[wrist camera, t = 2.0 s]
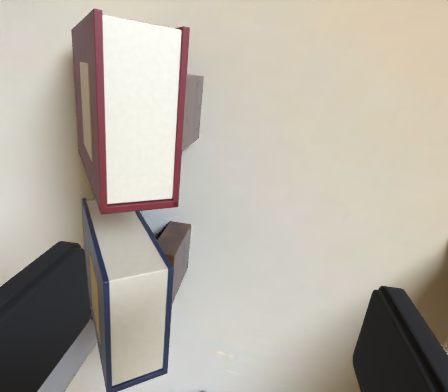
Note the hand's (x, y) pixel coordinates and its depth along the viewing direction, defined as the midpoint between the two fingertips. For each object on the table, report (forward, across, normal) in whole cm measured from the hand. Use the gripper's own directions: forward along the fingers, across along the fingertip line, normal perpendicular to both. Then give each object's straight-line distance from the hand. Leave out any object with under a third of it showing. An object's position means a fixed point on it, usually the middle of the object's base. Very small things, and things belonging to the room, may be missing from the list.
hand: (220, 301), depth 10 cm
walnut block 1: (+23, +7, +12) cm, 27 cm away
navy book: (+17, +9, +12) cm, 23 cm away
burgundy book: (+17, +8, -4) cm, 19 cm away
